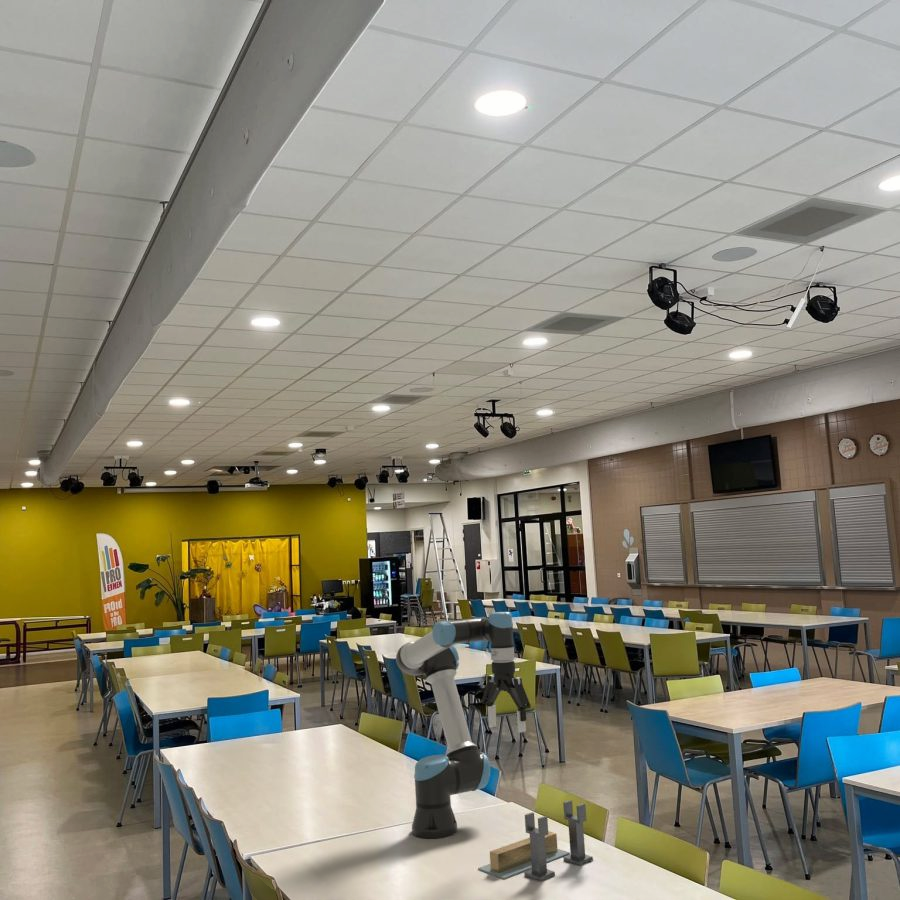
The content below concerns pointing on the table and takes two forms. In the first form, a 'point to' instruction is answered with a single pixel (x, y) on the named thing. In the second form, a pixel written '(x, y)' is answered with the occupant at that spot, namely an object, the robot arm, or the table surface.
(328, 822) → the table surface
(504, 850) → the rail
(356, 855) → the table surface
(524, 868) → the mat
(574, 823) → the rack
